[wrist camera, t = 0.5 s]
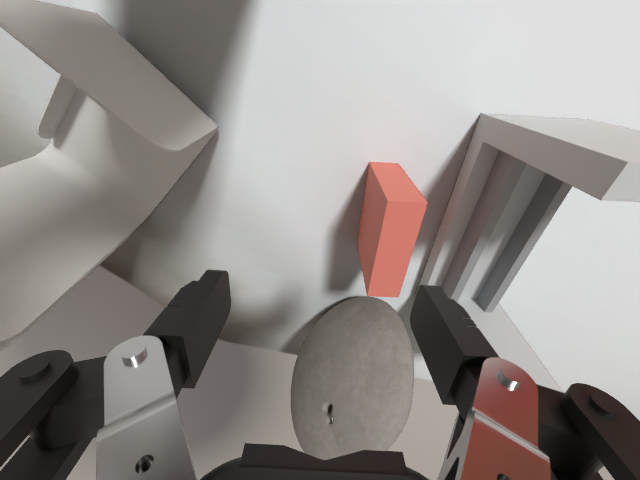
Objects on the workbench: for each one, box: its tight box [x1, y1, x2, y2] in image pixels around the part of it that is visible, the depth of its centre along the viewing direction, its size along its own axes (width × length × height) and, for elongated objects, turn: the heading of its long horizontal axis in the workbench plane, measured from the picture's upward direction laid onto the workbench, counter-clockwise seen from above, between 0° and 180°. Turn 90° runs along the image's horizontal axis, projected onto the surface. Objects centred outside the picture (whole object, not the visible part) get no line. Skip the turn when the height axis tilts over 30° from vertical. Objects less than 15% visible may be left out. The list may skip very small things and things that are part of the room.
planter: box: [291, 296, 414, 460], centre depth 31 cm, size 18×7×19 cm, turn 138°
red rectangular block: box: [357, 162, 428, 297], centre depth 26 cm, size 10×3×9 cm, turn 177°
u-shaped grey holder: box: [415, 113, 640, 393], centre depth 25 cm, size 24×10×14 cm, turn 177°
